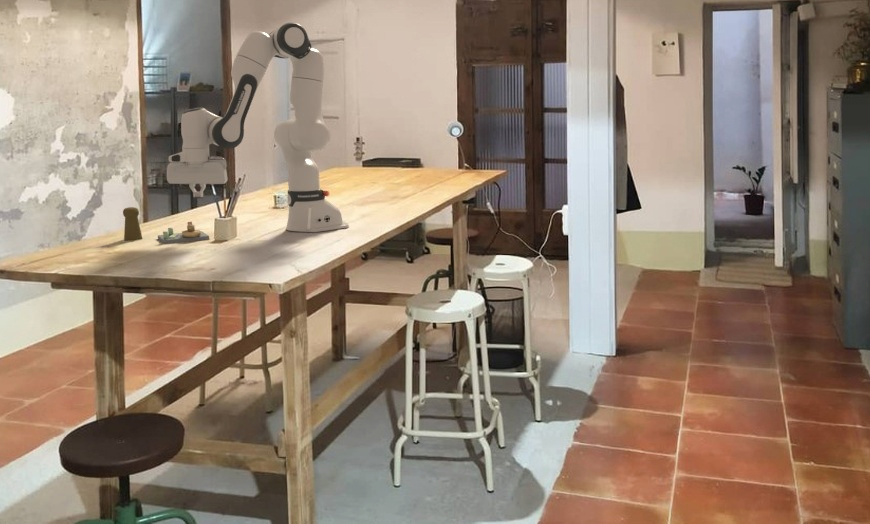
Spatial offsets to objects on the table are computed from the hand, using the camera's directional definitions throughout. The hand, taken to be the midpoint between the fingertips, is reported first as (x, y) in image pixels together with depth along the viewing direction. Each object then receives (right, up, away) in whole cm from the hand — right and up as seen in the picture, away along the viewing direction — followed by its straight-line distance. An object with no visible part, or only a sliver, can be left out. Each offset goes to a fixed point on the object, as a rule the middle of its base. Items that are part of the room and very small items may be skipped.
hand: (198, 196), depth 305 cm
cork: (-23, -15, +2) cm, 27 cm away
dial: (-2, -13, 0) cm, 13 cm away
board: (-5, -14, +1) cm, 15 cm away
